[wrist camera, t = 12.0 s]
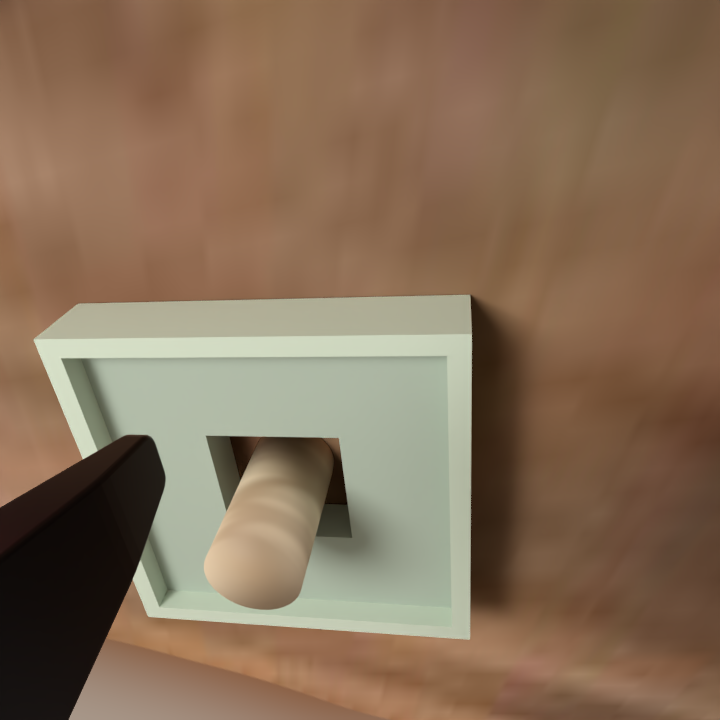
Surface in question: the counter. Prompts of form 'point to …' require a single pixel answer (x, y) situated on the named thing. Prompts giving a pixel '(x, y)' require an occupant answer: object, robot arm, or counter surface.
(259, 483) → the peg
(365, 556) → the box
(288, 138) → the counter surface
